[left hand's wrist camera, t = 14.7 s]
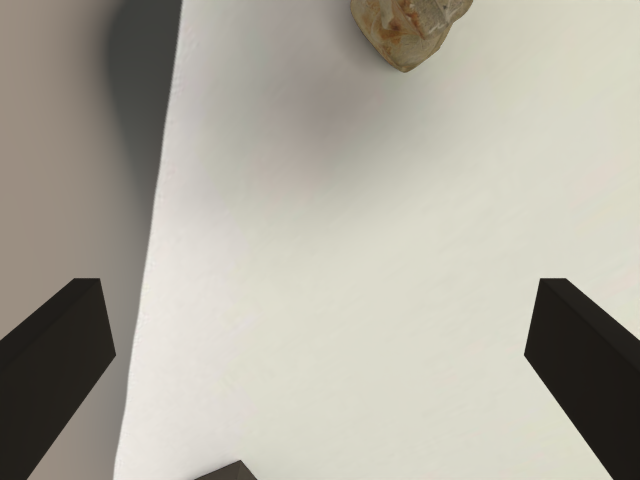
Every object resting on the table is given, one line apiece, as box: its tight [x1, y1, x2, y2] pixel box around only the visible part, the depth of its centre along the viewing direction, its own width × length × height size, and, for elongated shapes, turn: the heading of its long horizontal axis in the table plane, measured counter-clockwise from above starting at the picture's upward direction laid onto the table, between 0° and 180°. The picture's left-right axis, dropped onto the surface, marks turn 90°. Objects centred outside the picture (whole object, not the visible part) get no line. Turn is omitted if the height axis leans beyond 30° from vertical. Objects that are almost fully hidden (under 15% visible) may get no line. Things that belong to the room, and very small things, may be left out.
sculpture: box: [350, 0, 473, 73], centre depth 28 cm, size 6×7×15 cm
